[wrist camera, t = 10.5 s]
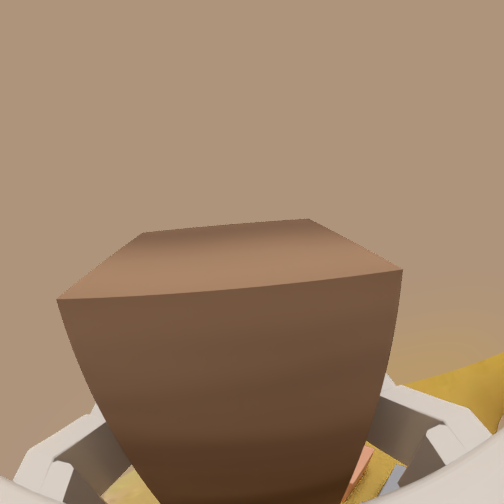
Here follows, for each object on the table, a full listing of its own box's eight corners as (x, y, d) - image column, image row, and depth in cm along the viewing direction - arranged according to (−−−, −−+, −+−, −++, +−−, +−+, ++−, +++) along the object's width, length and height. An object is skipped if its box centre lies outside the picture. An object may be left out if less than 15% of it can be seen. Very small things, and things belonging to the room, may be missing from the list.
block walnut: (325, 531, 6) (403, 268, 3) (198, 544, 6) (56, 299, 3) (301, 450, 10) (308, 218, 8) (199, 460, 10) (142, 232, 7)
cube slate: (421, 495, 17) (438, 475, 16) (403, 530, 14) (421, 514, 12) (383, 485, 20) (396, 464, 19) (362, 518, 17) (375, 501, 16)
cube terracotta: (364, 471, 23) (374, 448, 22) (343, 502, 20) (352, 483, 18) (328, 457, 26) (333, 434, 25) (304, 485, 23) (308, 465, 21)
